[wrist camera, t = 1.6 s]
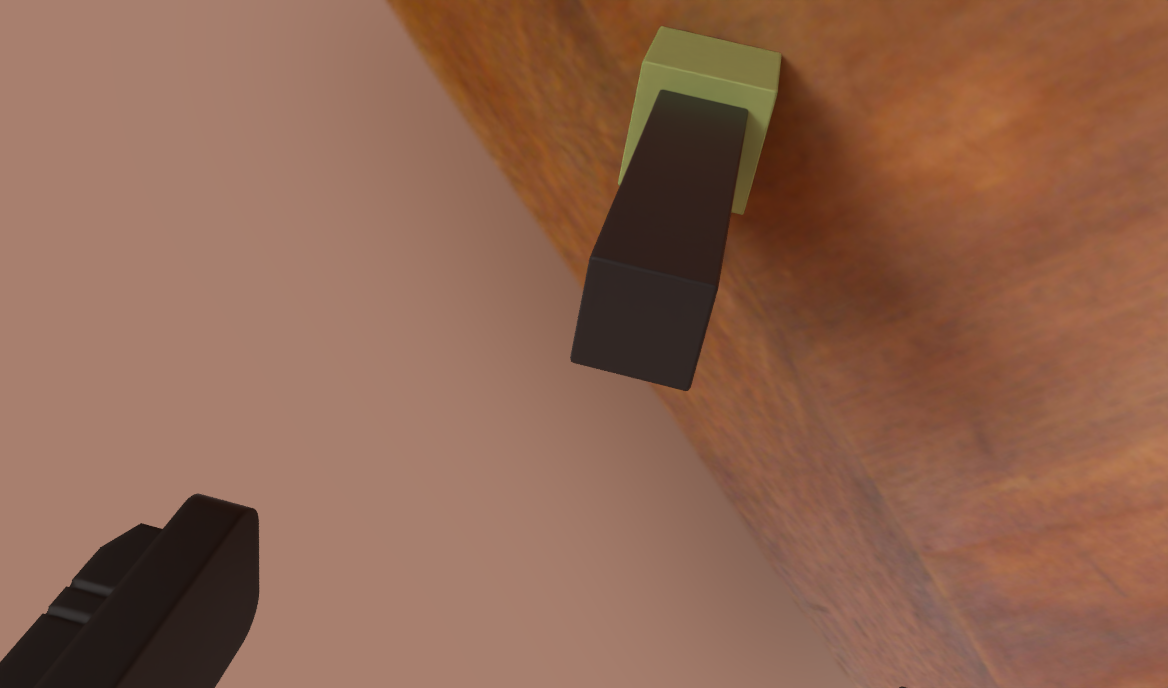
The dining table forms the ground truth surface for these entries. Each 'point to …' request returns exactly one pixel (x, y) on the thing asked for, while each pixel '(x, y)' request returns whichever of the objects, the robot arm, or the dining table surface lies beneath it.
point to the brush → (675, 205)
